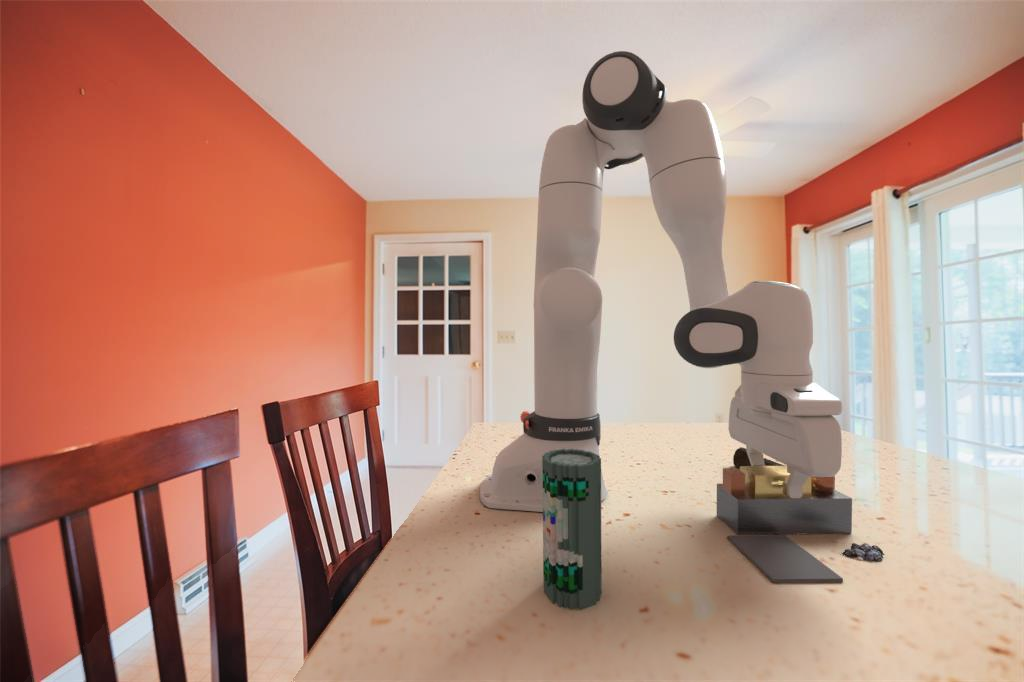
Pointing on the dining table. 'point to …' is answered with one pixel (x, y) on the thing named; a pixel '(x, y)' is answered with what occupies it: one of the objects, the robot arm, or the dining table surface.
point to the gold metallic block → (769, 480)
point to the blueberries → (864, 552)
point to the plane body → (783, 508)
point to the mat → (783, 559)
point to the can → (572, 527)
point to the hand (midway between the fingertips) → (774, 485)
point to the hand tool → (743, 459)
